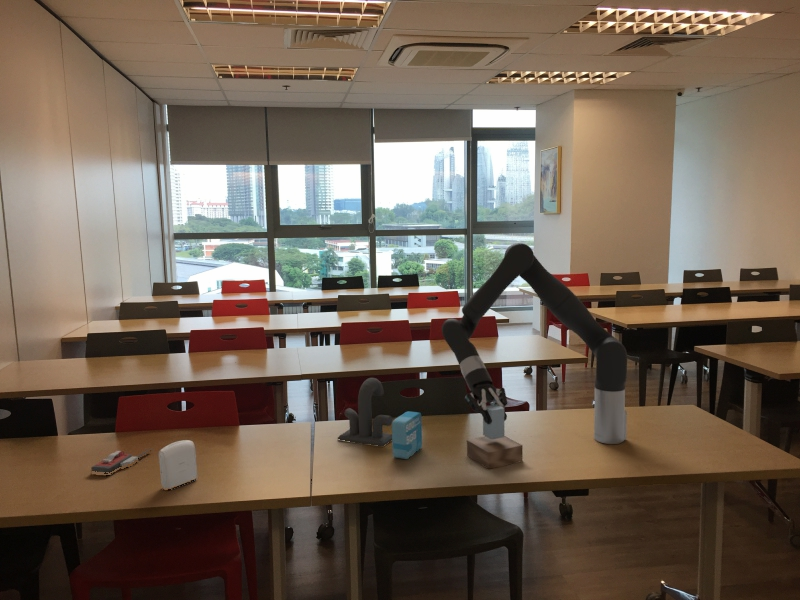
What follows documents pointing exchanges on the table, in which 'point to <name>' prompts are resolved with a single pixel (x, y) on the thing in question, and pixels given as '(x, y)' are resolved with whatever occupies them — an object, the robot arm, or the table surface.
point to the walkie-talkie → (115, 461)
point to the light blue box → (406, 434)
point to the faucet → (367, 418)
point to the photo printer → (177, 463)
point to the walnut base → (494, 451)
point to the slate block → (494, 422)
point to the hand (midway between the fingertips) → (497, 421)
